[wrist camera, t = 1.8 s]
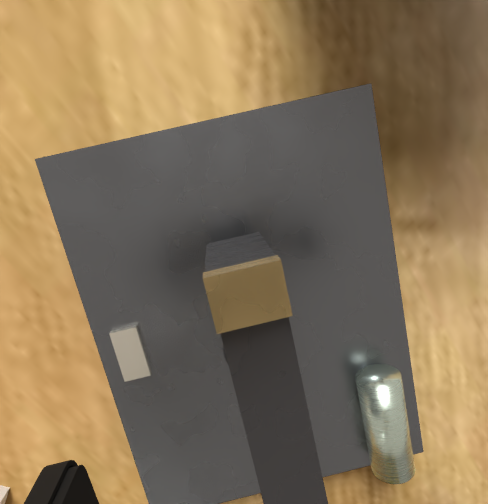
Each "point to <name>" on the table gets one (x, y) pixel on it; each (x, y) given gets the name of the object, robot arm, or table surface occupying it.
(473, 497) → the table surface
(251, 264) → the wing knob
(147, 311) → the base
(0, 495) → the white cube
